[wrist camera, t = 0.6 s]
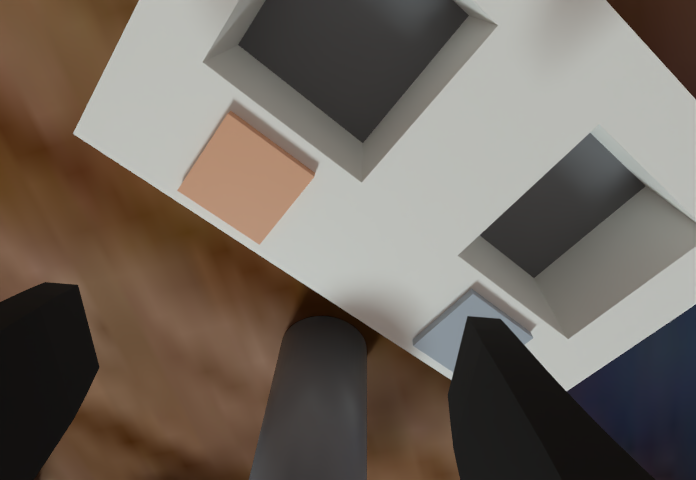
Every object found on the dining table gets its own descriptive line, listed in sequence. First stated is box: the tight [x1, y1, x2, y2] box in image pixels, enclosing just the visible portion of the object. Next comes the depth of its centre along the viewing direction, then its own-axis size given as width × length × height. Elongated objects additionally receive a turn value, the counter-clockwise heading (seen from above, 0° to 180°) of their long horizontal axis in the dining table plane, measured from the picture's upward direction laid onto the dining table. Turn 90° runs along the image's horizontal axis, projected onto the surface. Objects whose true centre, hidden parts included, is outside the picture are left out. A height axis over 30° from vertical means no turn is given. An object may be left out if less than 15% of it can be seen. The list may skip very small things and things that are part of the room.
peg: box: [249, 316, 367, 480], centre depth 18 cm, size 4×4×8 cm
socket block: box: [73, 0, 696, 391], centre depth 15 cm, size 18×11×4 cm, turn 52°
